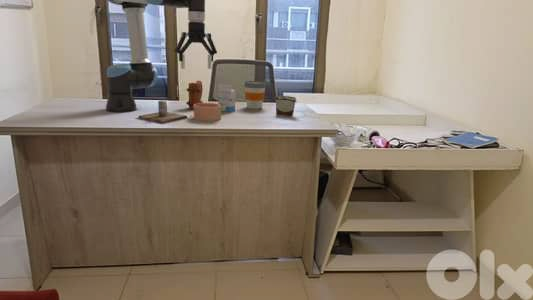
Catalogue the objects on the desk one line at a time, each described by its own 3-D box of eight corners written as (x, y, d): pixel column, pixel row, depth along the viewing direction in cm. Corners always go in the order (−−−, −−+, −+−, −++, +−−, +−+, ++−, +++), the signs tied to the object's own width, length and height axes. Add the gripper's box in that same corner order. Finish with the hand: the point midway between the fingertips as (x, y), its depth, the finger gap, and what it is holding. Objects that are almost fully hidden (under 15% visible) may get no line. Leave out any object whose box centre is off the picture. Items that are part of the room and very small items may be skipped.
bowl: (188, 119, 189) (188, 105, 187) (205, 115, 200) (205, 102, 198) (208, 123, 183) (208, 108, 181) (225, 119, 193) (225, 105, 191)
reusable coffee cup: (268, 107, 230) (270, 82, 225) (257, 110, 219) (258, 84, 215) (251, 105, 236) (252, 80, 232) (239, 107, 226) (240, 81, 222)
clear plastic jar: (235, 110, 216) (236, 84, 212) (231, 112, 211) (232, 85, 207) (222, 109, 219) (222, 83, 215) (217, 110, 214) (218, 83, 210)
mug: (198, 110, 211) (198, 83, 207) (184, 109, 212) (184, 82, 208) (207, 106, 225) (207, 80, 220) (194, 105, 226) (194, 79, 222)
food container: (298, 115, 211) (300, 97, 208) (294, 117, 205) (296, 98, 203) (278, 112, 216) (279, 95, 213) (273, 114, 210) (274, 96, 207)
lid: (138, 118, 183) (137, 101, 181) (163, 113, 197) (163, 97, 194) (162, 123, 175) (162, 105, 173) (186, 118, 189) (186, 101, 186)
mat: (134, 119, 183) (133, 118, 183) (163, 113, 199) (163, 112, 198) (162, 125, 174) (162, 124, 174) (191, 119, 189) (191, 118, 189)
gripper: (173, 19, 167) (173, 69, 173) (224, 23, 180) (223, 69, 186) (167, 19, 173) (168, 67, 179) (217, 23, 186) (216, 67, 192)
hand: (196, 68), depth 183 cm, fingers open, 13 cm apart
